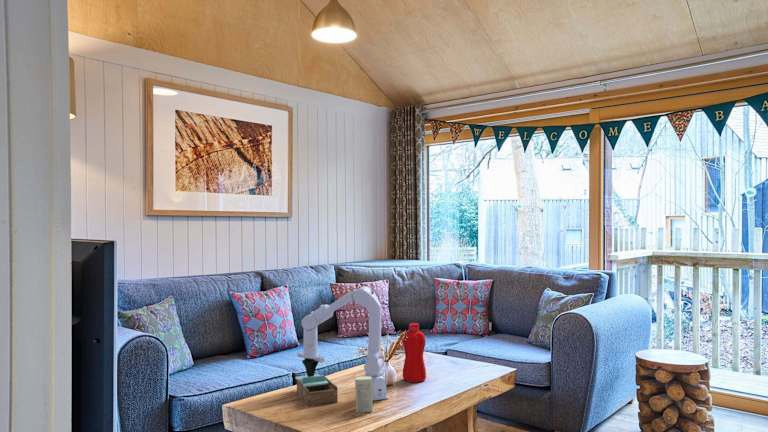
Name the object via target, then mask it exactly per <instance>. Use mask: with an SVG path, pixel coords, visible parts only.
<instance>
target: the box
mask: <svg viewBox="0 0 768 432" xmlns="http://www.w3.org/2000/svg"><path fill="white" fill-rule="evenodd" d="M325 380H326V381H328V382H329V384H326V385H319V386H311V387H305V386H304V385H303V384H302V383H301V382H300V381H299V380H296V396H297V397H298V398H299V397H300V398H301V399H302V400H303V401H302V400H301V399H300V398H299V399H300V400H301V401H302V402H303V403H304V404H305V405H306V406H307V407H312V405H315V406H321V405H327V404H334V403H335V404H336V403H338V386H337V385H336V384H335V383H333V382H332V380H330V379H329V378H328V377H326V376H325Z"/></svg>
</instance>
